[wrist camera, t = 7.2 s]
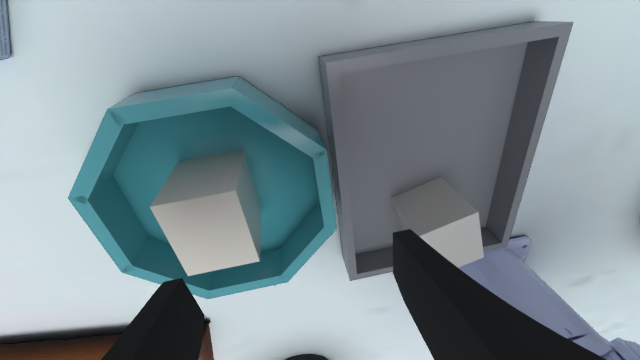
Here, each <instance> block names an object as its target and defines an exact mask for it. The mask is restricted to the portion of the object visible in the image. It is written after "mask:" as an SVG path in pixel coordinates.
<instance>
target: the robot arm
mask: <svg viewBox="0 0 640 360" xmlns="http://www.w3.org/2000/svg"><path fill="white" fill-rule="evenodd" d="M530 242H531V239H530V238H529V237H527V236H523V237H519V238H514V239H509V242H508V245H507V247H505V248H500V249H495V250H491V251H486V252H483V253H484V257H483V258H481V259H478V260H476V261H473V262H471V263H468V264H466V265H463V266H461V267H457V266H455V265H454V264H453V263H451V262H450V261H449V260H447V259H446V258H445V257H444V256H442V255H441V254H440V253H439V252H437V251H436V250H435V249H434V248H433V247H431V246H430V245H429V244H428V243H427V242H425V241H424V240H423V239H422V238H421V237H419V236H418V235H417V234H416V233H415V232H413V231H412V230H411V229H407V230H402V231H398V232H393V274H394V277H395V279H396V282H397V285H398V287H399V290H400V292H401V295H402V297H403V300H404V302H405V304H406V306H407V308H408V310H409V312H410V314H411V316H412V318H413V320H414V322H415V323H416V325H417V327H418V329H419V331H420V333H421V335H422V337H423V339H424V341H425V343H426V345H427V346H428V348H429V350H430V352H431V354H432V356H433V358H434V360H640V345H639V344H637V343H636V342H632V341H627V340H625V341H624V340H623V339H621V338H616V339H614V340H612V341H611V342H609V341H608V340H606V339H605V338H603V337H602V336H600V335H599V334H598V333H597V332H596V331H595V330H594V329H593V328H592V327H591V326H590V325H589V324H588V323H587V322H586V321H585V320H584V319H583V318H582V317H580V316H579V315H578V314H577V313H576V312H575V311H574V310H573V309H572V308H571V307H570V306H569V305H568V304H567V303H566V302H565V301H564V300H563V299H562V298H561V297H560V296H559V295H558V294H557V293H556V292H555V291H554V290H553V289H552V288H551V287H550V286H548V285H547V284H546V283H545V282H544V281H543V280H542V279H541V278H540V277H539V276H538V275H537V274H536V273H535V272H534V271H533V270H532V269H531V268H530V267H529V266H528V265H527V264H526V263H525V262H524V259H525V257H526V254H527V251H528V248H529V245H530ZM203 323H204V314H203V312H202V311H201V309H200V307H199V305H198V304H197V302H196V300H195V299H194V297H193V295H192V294H191V292H190V290H189V289H188V287H187V285H186V283H185V282H184V280H183V278H179V279H174V280H170V281H165V282H163V283H162V284H161V286H160V287H159V288H158V289H157V290H156V292H155V293H154V294H153V295H152V297H151V298H150V299H149V300H148V302H147V303H146V304H145V306H144V307H143V308H142V309H141V311H140V312H139V313H138V314H137V316H136V317H135V318H134V320H133V321H132V322H131V323H130V325H129V326H128V327H127V328H126V330H125V331H124V332H123V333H122V335H121V336H120V337H119V338H118V339H117V341H116V342H115V343H114V344H113V346H112V347H111V348H110V349H109V351H108V352H107V353H106V354H105V355H104V357H103V358H102V359H101V360H198V359H199V354H200V349H201V343H202V334H203Z"/></svg>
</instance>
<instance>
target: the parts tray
mask: <svg viewBox="0 0 640 360" xmlns="http://www.w3.org/2000/svg"><path fill="white" fill-rule="evenodd" d="M572 26H573V22H545V21H534V22H528V23H522V24H515V25H509V26H503V27H497V28H491V29H485V30H479V31H472V32H466V33H460V34H454V35H448V36H442V37H436V38H429V39H423V40H417V41H411V42H405V43H399V44H393V45H387V46H380V47H374V48H368V49H362V50H356V51H350V52H344V53H337V54H331V55H325V56H319V65H320V74H321V82H322V90H323V98H324V106H325V114H326V123H327V131H328V139H329V147H330V155H331V163H332V171H333V180H334V188H335V196H336V204H337V212H338V220H339V229H340V237H341V245H342V253H343V259H344V262H345V266H346V269H347V272H348V276H349V279H350V281H352V280H357V279H361V278H366V277H370V276H375V275H380V274H384V273H389V272H393V232H398V231H402V229H401V226H400V223H399V220H398V217H397V214H396V211H395V208H394V206H393V203H392V200H391V198H392V197H395V196H397V195H399V194H402V193H404V192H406V191H409V190H411V189H413V188H416V187H418V186H421V185H423V184H425V183H428V182H430V181H432V180H435V179H437V178H439V177H442V178H443V179H444V180H445V181H446V182H447V183H448V184H449V185H450V186H451V187H452V188H454V189H455V190H456V191H457V192H458V193H459V194H460V195H461V196H462V197H463V198H464V199H465V200H466V201H467V202H468V203H470V204H471V205H472V206H473V207H474V208H475V209H476V210H477V211H478V212H479V220H480V228H481V237H482V245H483V252H486V251H491V250H495V249H500V248H505V247H507V245H508V242H509V239H510V235H511V232H512V228H513V225H514V222H515V218H516V215H517V212H518V208H519V205H520V201H521V198H522V195H523V191H524V188H525V184H526V181H527V178H528V174H529V171H530V168H531V164H532V161H533V157H534V154H535V151H536V147H537V144H538V140H539V137H540V134H541V130H542V127H543V124H544V120H545V117H546V113H547V110H548V107H549V103H550V100H551V97H552V93H553V90H554V86H555V83H556V80H557V76H558V73H559V69H560V66H561V63H562V59H563V56H564V53H565V49H566V46H567V42H568V39H569V36H570V32H571V29H572Z"/></svg>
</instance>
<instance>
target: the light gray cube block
mask: <svg viewBox="0 0 640 360" xmlns="http://www.w3.org/2000/svg"><path fill="white" fill-rule="evenodd" d="M391 200H392V203H393V206H394V208H395V211H396V214H397V217H398V220H399V223H400V226H401V229H402V230H407V229H411V230H412V231H413V232H415V233H416V234H417V235H418V236H419V237H421V238H422V239H423V240H424V241H425V242H427V243H428V244H429V245H430V246H431V247H433V248H434V249H435V250H436V251H437V252H439V253H440V254H441V255H442V256H444V257H445V258H446V259H447V260H449V261H450V262H451V263H453V264H454V265H455V266H457V267H461V266H463V265H466V264H468V263H471V262H473V261H476V260H478V259H481V258H483V257H484V253H483V245H482V237H481V228H480V220H479V212H478V211H477V210H476V209H475V208H474V207H473V206H472V205H471V204H470V203H468V202H467V201H466V200H465V199H464V198H463V197H462V196H461V195H460V194H459V193H458V192H457V191H456V190H455V189H454V188H452V187H451V186H450V185H449V184H448V183H447V182H446V181H445V180H444V179H443V178H442V177H439V178H437V179H435V180H432V181H430V182H428V183H425V184H423V185H421V186H418V187H416V188H413V189H411V190H409V191H406V192H404V193H402V194H399V195H397V196H395V197H392V198H391Z"/></svg>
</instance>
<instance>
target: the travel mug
mask: <svg viewBox="0 0 640 360" xmlns="http://www.w3.org/2000/svg"><path fill="white" fill-rule="evenodd" d="M286 360H328V359H326V358H325V357H322V356H319V355H309V354H308V355H299V356H295V357H291V358H289V359H286Z"/></svg>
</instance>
